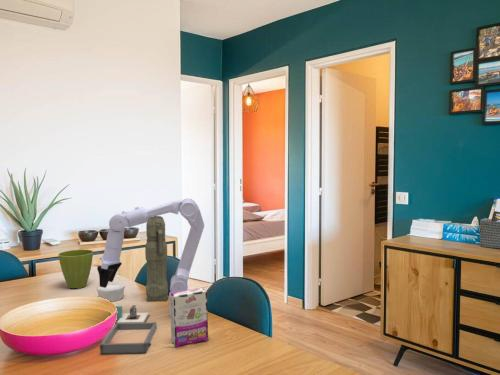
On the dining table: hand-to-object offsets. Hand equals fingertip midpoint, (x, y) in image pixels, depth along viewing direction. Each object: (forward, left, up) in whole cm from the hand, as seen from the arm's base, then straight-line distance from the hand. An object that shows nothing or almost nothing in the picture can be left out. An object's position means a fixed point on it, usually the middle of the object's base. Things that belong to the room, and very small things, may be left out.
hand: (106, 284), depth 153 cm
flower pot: (+28, -45, -14) cm, 55 cm away
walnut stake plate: (-7, +2, -14) cm, 16 cm away
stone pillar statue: (-13, -24, -14) cm, 31 cm away
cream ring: (-8, +1, -13) cm, 15 cm away
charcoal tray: (-12, +17, -14) cm, 25 cm away
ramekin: (+7, -27, -14) cm, 32 cm away
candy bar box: (-31, +18, -14) cm, 39 cm away
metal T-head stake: (-9, +1, -13) cm, 16 cm away
